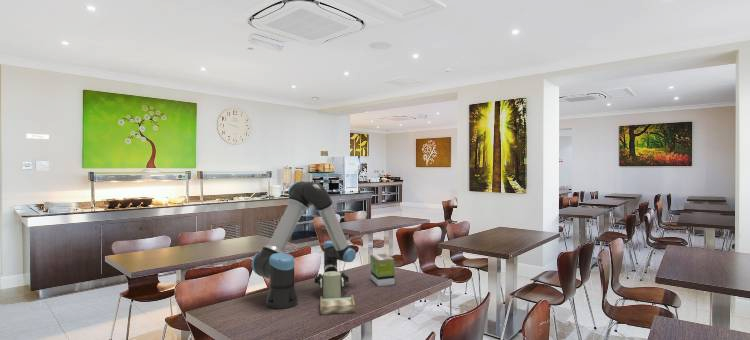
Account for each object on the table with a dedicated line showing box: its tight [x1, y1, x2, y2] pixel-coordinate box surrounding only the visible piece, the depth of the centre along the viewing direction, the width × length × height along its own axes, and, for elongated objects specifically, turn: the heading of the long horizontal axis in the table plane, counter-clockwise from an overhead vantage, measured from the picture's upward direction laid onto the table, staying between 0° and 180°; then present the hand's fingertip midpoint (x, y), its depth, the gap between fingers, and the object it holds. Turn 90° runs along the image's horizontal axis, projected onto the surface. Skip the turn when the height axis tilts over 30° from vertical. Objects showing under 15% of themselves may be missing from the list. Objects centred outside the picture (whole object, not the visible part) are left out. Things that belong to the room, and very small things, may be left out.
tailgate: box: [322, 296, 351, 301], centre depth 202 cm, size 16×4×1 cm, turn 97°
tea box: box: [369, 253, 396, 287], centre depth 234 cm, size 15×10×15 cm
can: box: [322, 271, 342, 299], centre depth 210 cm, size 9×9×12 cm
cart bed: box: [319, 294, 356, 315], centre depth 192 cm, size 16×16×4 cm
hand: (332, 284), depth 205 cm, fingers open, 10 cm apart
